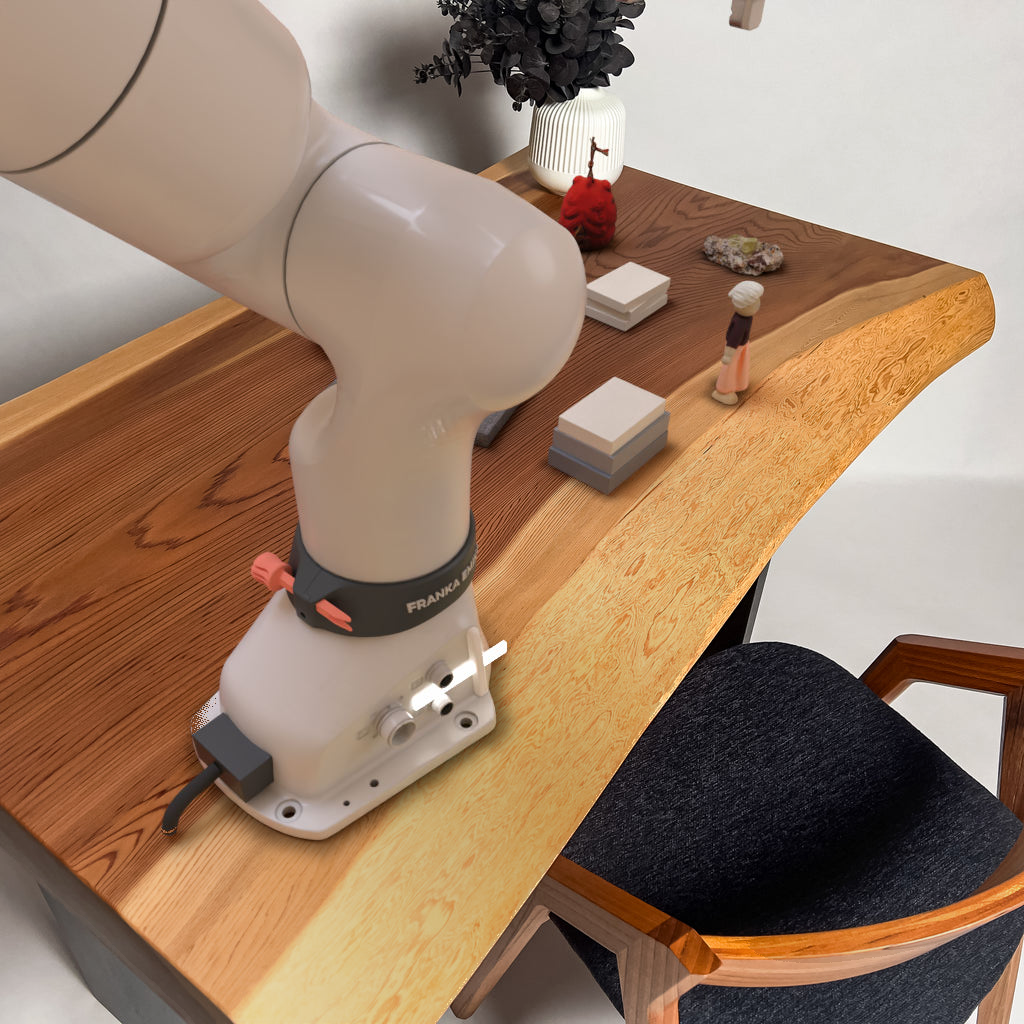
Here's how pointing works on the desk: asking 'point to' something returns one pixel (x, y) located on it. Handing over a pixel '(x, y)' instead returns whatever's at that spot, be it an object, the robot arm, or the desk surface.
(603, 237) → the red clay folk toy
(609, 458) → the grey stack
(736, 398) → the grandmother figurine
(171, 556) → the desk surface
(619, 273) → the white stack
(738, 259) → the mineral rock
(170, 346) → the desk surface
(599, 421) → the white flat block
